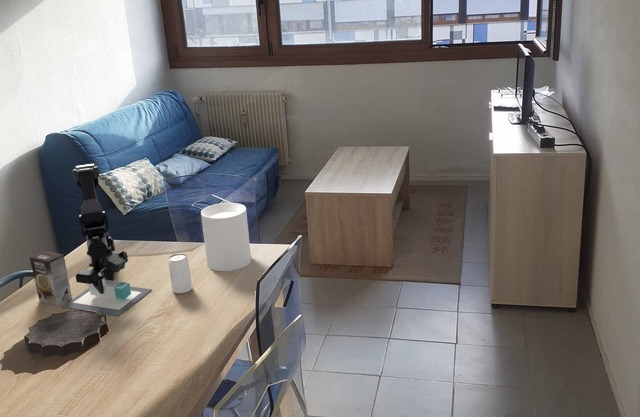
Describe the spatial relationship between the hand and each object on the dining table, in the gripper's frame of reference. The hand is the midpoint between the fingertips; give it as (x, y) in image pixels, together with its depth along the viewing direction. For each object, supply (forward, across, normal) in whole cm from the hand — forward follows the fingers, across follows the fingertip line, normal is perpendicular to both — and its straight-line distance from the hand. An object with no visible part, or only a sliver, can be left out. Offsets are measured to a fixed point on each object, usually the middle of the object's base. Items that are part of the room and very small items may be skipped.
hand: (106, 290), depth 209 cm
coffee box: (+3, -5, +17) cm, 18 cm away
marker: (+1, 0, -2) cm, 2 cm away
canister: (+3, +36, -26) cm, 45 cm away
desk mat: (+3, 0, 0) cm, 3 cm away
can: (+3, +12, -21) cm, 24 cm away
